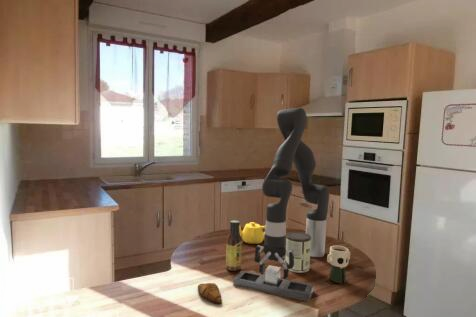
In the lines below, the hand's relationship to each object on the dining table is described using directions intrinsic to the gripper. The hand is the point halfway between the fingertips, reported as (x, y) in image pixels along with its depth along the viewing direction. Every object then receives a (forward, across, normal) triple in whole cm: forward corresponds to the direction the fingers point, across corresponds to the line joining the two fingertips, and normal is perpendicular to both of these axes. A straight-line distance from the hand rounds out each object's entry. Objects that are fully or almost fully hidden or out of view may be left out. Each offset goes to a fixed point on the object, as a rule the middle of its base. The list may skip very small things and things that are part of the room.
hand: (273, 276), depth 122 cm
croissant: (+5, +18, +15) cm, 24 cm away
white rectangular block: (+4, 0, 0) cm, 4 cm away
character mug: (+5, -21, -17) cm, 28 cm away
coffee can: (+5, -4, -23) cm, 24 cm away
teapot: (+5, +25, -46) cm, 53 cm away
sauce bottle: (+5, +20, -10) cm, 23 cm away
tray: (+5, 0, 0) cm, 5 cm away
